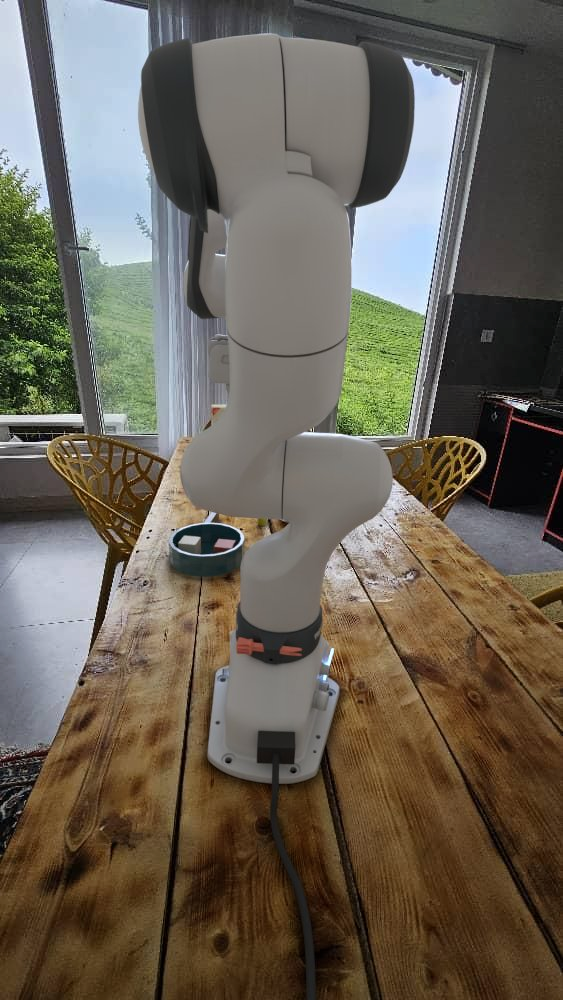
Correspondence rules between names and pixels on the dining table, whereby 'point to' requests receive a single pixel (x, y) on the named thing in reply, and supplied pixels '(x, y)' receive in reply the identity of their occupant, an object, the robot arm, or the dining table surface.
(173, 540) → the bowl
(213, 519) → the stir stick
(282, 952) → the dining table surface
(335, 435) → the robot arm
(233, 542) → the terracotta block
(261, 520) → the fruit
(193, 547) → the cream block
